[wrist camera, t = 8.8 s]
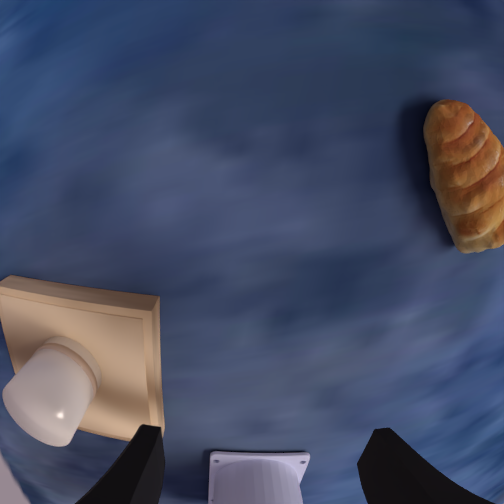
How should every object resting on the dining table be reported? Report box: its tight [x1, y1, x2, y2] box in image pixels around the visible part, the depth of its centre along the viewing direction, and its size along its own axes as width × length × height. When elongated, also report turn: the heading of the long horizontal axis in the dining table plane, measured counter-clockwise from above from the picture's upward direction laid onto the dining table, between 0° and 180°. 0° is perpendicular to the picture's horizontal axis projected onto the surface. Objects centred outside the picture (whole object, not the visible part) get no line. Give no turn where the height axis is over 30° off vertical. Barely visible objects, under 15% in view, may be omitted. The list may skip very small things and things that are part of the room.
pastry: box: [423, 99, 504, 253], centre depth 15 cm, size 9×7×4 cm
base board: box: [0, 275, 165, 441], centre depth 18 cm, size 11×11×2 cm
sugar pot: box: [3, 336, 102, 447], centre depth 14 cm, size 4×4×5 cm
